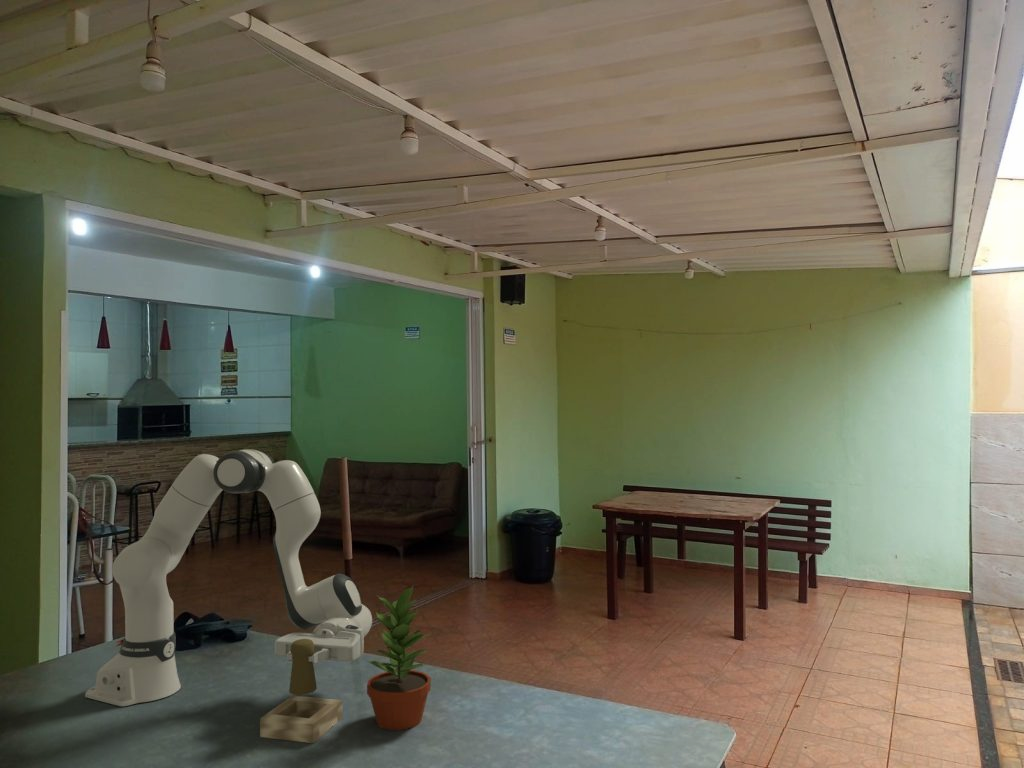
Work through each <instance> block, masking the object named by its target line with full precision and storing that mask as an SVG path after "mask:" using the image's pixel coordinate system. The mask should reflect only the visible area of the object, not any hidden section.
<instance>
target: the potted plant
mask: <svg viewBox="0 0 1024 768" xmlns="http://www.w3.org/2000/svg"><path fill="white" fill-rule="evenodd" d="M413 588H414V585H411V587H410V588H406V589H405V590H403V591H402V592H401V594H400V596H399V598H398V599H397V600H395V601H393V602H392V603H391V602H390V601H389V600H388V599H386V598H385V597H379V595H378V594H376V596H377V597H378V599H379V600H380V601H381V602H382V603H383V605H384V607H386V609H387V610H388V611H389V612H390V615H387V614H385V613H380V614H379V613H378V612H375V614H376V617H375V618H374V616H372V619H374V620H376V621H377V622H379V623H381V624H382V625H384V627H385V628H387V630H388V631H386V630H385V628H383V630H382V629H381V628H380V627H379V626H378V625H377V624H374V625H376V627H377V628H378V630H380V631H381V632H382V633H381V637H382V639H383V641H384V645H386V647H387V649H388V652H387V651H384V650H381V649H377V650H375V652H377V653H379V654H381V655H384V656H386V657H388V658H389V662H380V661H377V660H371V661H368V660H366V662H367V663H369V664H372V665H373V666H375V667H377V668H379V669H381V670H383V671H384V672H382V673H378V674H376V675H374V676H372V677H370V679H369V680H367V683H366V695H368V698H370V702H371V705H372V709H373V714H374V716H375V720H376V724H377V723H378V724H377V726H378V727H380V726H381V727H382V729H384V728H386V729H385V730H387V729H391V730H390V731H403V730H407V729H408V728H409V729H411V728H414V727H416V726H418V725H419V724H420V723H421V722H422V719H423V716H424V711H425V707H426V702H427V700H428V694H429V693H430V691H432V690H431V689H432V688H431V686H432V685H431V680H432V679H431V677H430V675H429V674H428V673H426V672H423V671H419V670H413V669H417V668H422V667H425V664H424V663H417V664H416V663H415V664H414V662H415V659H416V658H417V657H418V656H420V655H422V654H425V653H427V652H428V651H430V649H428V650H426V649H420V650H417V651H414V650H415V649H413V648H412V651H410V652H407V653H406V649H408V648H409V647H411V646H413V645H414V644H416V643H417V642H419V641H420V640H422V639H424V638H425V637H427V636H429V633H428V634H426V635H425V634H423V633H422V634H420V633H421V632H422V631H424V630H417V631H415V632H413V633H411V634H409V633H410V631H411V624H412V623H413V620H415V618H416V616H417V613H418V612H419V610H418V609H416V610H414V612H410V610H411V609H412V607H413V606H414V604H415V602H416V598H415V599H413V600H411V601H410V599H411V596H412V593H413V591H414V590H413ZM381 727H380V728H381ZM402 729H403V730H402Z"/></svg>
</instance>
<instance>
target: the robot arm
mask: <svg viewBox="0 0 1024 768" xmlns="http://www.w3.org/2000/svg"><path fill="white" fill-rule="evenodd" d="M222 491H224V492H227V493H230V494H235V495H236V494H248V493H253V492H257V491H258V492H261V493H263V494H264V495H265V496H266V499H267V500H268V501H269V502H268V503H269V504H270V507H271V509H272V511H273V514H274V517H275V523H276V525H275V526H276V530H275V533H274V535H273V538H272V545H273V549H274V550H273V551H274V556H275V559H276V564H277V568H278V572H279V575H280V581H281V585H282V588H283V592H284V596H285V597H284V598H285V606H286V613H287V614H286V615H287V617H288V619H289V621H290V622H291V624H292V625H294V626H295V627H297V628H299V629H301V630H305V631H309V630H311V629H313V628H314V627H315V628H314V630H313V631H312V632H300V631H298V632H297V631H296V632H292V633H290V632H289V633H288V634H285V635H282V636H280V637H279V638H276V639H275V641H274V652H275V656H278V657H286V661H288V662H293V656H292V654H291V645H292V643H293V642H294V641H296V640H299V639H310V640H312V641H313V643H314V652H313V653H312V654H311V655H309V656H308V658H309V660H308V661H309V662H310V663H313V664H316V663H317V662H320V661H337V662H346V663H347V662H349V663H350V662H353V661H355V660H357V659H358V658H359V657H360V656H362V655H364V648H365V647H364V646H365V643H364V641H365V640H364V639H365V637H366V636H367V635H368V634H369V632H370V630H371V628H372V625H373V616H372V612H371V610H370V609H369V608H368V607H367V606H366V605H364V604H363V600H362V594H361V592H360V589H359V587H358V584H357V583H356V582H355V581H354V580H353V579H352V578H350V577H349V576H347V575H346V574H343V573H336V574H334V575H332V576H329V577H327V578H324V579H322V580H320V581H319V582H317V583H314V584H312V585H310V586H307V585H306V582H305V579H304V574H303V570H302V567H301V563H300V559H299V551H300V548H301V546H302V545H303V543H304V542H305V541H306V539H307V538H308V537H309V536H310V535H311V534H312V533H313V531H314V530H315V529H316V528H317V526H318V524H319V522H320V519H321V514H322V512H321V507H320V503H319V500H318V498H317V495H316V493H315V491H314V488H313V487H312V485H311V483H310V481H309V479H308V477H307V476H306V474H305V473H304V471H303V469H302V468H301V467H300V465H299V464H298V463H297V462H296V461H294V460H289V459H287V460H286V459H285V460H284V459H283V460H279V461H276V462H275V461H274V460H273V458H272V457H271V455H269V454H268V453H267V452H265V451H263V450H260V449H249V448H243V449H239V450H232V451H229V452H226V453H225V454H223V455H222V456H220V457H217V456H216V455H212V454H208V453H202V454H198V455H197V456H195V457H194V458H192V460H191V461H189V463H187V464H186V466H184V468H183V470H182V471H181V472H180V473H179V475H178V476H177V477H176V478H175V480H174V481H173V483H172V484H171V486H170V488H169V489H168V490H167V492H166V494H165V495H164V496H163V497H162V500H161V501H160V503H159V504H158V505H157V507H156V508H155V510H154V516H153V518H152V520H151V522H150V525H149V526H148V529H147V531H146V532H145V534H144V535H143V536H142V537H141V538H140V539H139V540H138V541H135V542H133V543H130V544H129V545H127V546H126V547H124V548H123V549H122V550H121V551H120V552H119V554H118V555H117V556H116V558H115V559H114V560H113V563H112V567H111V570H112V571H111V572H112V573H111V574H112V576H113V578H114V580H115V582H116V583H117V584H118V585H119V589H120V592H121V596H122V600H123V605H124V616H125V617H124V618H125V619H124V623H125V628H124V630H125V631H124V632H125V633H124V634H125V636H124V637H123V638H122V639H121V640H118V641H116V642H115V644H116V645H115V646H116V647H119V646H120V649H119V652H118V653H117V654H115V656H113V657H112V658H111V659H110V660H108V662H106V663H105V664H104V665H102V666H101V668H100V669H99V670H98V672H97V675H96V680H95V685H94V686H92V687H90V688H89V689H87V691H86V692H85V693H84V697H85V698H86V699H87V698H88V699H91V700H94V701H99V702H103V703H107V704H111V705H114V706H118V707H127V706H132V705H134V704H139V703H147V702H152V701H157V700H160V699H163V698H164V699H165V698H167V697H169V696H172V695H174V694H175V693H177V692H178V691H179V690H180V689H181V688H182V685H181V682H180V679H179V674H178V670H177V669H178V668H177V663H176V656H175V651H176V646H177V645H176V632H175V630H174V627H175V626H174V625H175V624H174V621H175V620H174V618H175V617H174V601H173V599H172V598H171V596H170V593H169V589H168V585H167V575H168V574H169V573H171V572H172V571H173V570H174V569H176V567H177V566H178V564H179V563H180V561H181V559H182V558H183V555H184V554H185V552H186V550H187V548H188V546H189V544H190V542H191V539H192V538H193V536H194V533H196V530H197V529H198V528H199V525H200V524H201V523H202V521H203V520H204V518H205V516H206V515H207V513H208V512H209V510H210V509H211V507H212V506H213V504H214V503H215V500H216V499H217V498H218V496H219V495H220V494H221V493H222Z"/></svg>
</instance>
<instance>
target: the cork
mask: <svg viewBox="0 0 1024 768" xmlns="http://www.w3.org/2000/svg"><path fill="white" fill-rule="evenodd" d="M313 652H314V643H313V641H312V640H310V639H299V640H296V641H294V642H293V643H292V645H291V654H292V656H293V661H291V662H292V663H291V670H290V671H291V672H290V681H289V687H288V688H289V690H288V692H289V694H291V695H295V696H304V695H308V694H311V693H313V692H316V690H317V689H318V687H317V681H316V674H315V667H314V663H310V662H309V661H308V660H309V658H308V656H309V655H311V654H312V653H313Z"/></svg>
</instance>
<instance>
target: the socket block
mask: <svg viewBox="0 0 1024 768" xmlns="http://www.w3.org/2000/svg"><path fill="white" fill-rule="evenodd" d="M343 703H344V701H343V700H342V699H333V698H321V697H312V696H304V695H294V694H292V695H291V696H290V697H288V698H287V699H286V700H284V701H283V702H281V703H280V704H278V705H277V706H276V707H274V708H273V709H271V710H269V712H267V713H266V714H264V715H263V716H262V717H260V718H259V720H260V721H259V737H260V738H267V739H277V740H285V741H292V742H301V743H308V744H314V743H316V742H317V741H318V740H320V738H322V737H323V736H324V735H325V734H326V733H327V732H329V730H331V729H332V728H333V727H334V726H335V725H336V724H337V722H338V721H339V720H340V719H341V718H342V717H344V716H343V715H344V712H343V710H344V709H343V707H344V706H343V705H344V704H343ZM342 719H343V718H342ZM342 719H341V720H342ZM341 720H340V721H341ZM340 721H339V722H340ZM339 722H338V723H339ZM332 726H333V727H332ZM331 727H332V728H331ZM330 728H331V729H330Z"/></svg>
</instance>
